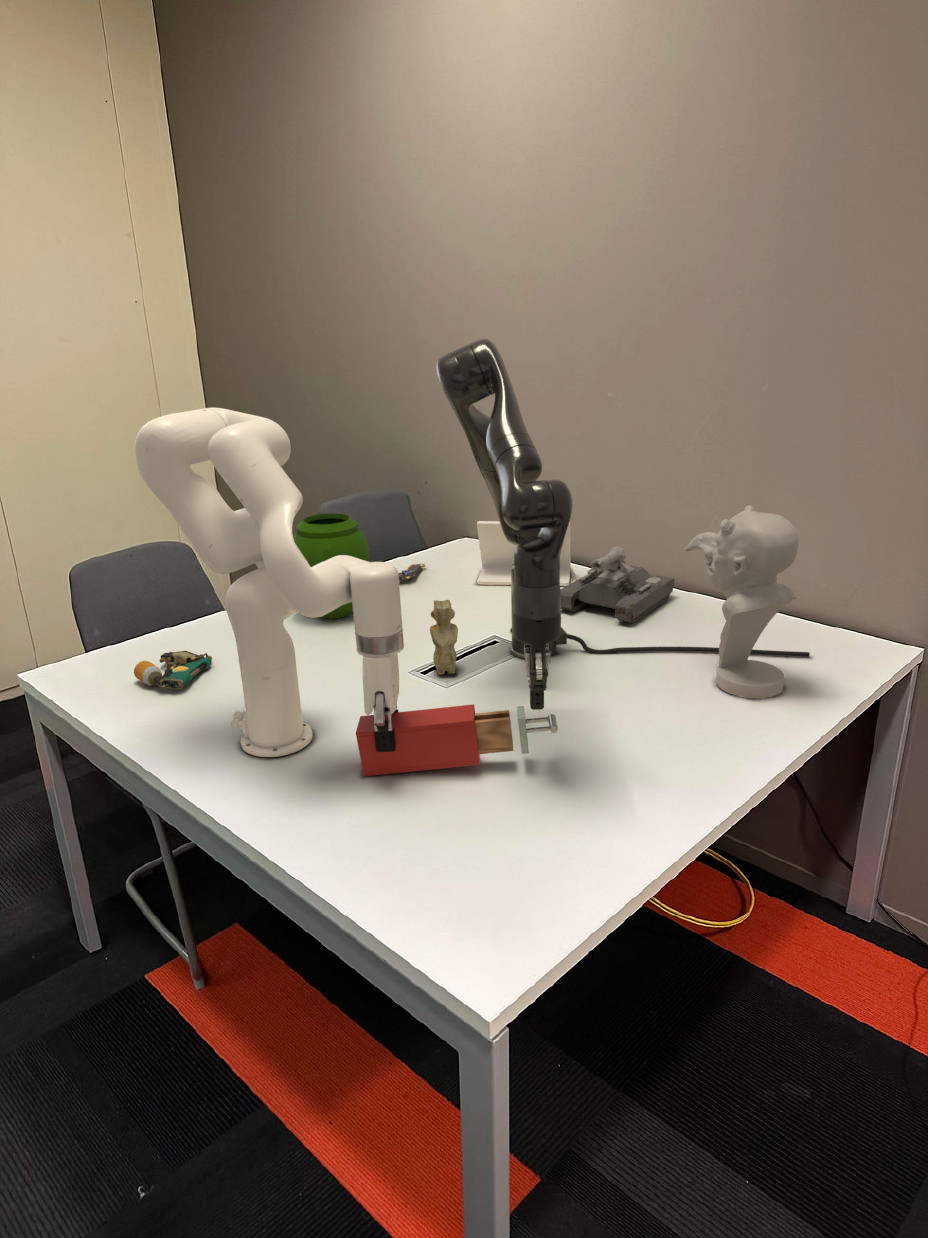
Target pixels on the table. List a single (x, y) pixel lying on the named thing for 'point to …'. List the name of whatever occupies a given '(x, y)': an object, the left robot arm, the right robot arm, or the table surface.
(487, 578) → the tablet stand
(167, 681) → the green toy blaster
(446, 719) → the cabinet
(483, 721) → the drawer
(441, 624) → the sculpture
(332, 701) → the table surface
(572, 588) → the toy
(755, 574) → the bust sculpture
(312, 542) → the vase
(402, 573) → the toy gun
